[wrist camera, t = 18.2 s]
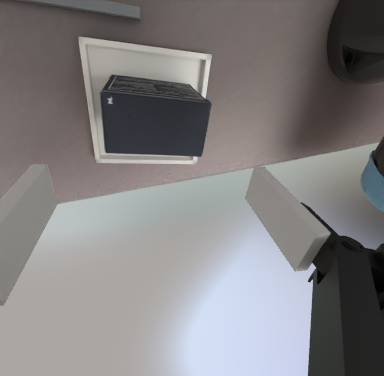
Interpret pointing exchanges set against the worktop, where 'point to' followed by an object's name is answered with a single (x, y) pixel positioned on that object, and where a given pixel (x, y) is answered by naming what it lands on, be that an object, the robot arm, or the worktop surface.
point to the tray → (141, 68)
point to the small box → (153, 117)
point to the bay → (95, 7)
